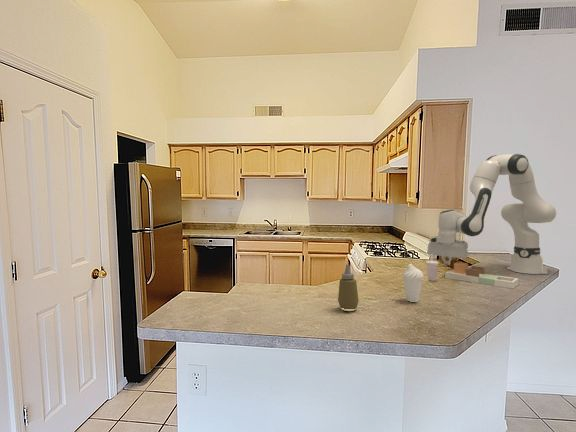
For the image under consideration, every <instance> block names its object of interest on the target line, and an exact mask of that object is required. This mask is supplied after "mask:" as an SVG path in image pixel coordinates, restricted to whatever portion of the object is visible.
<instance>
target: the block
mask: <svg viewBox="0 0 576 432" xmlns="http://www.w3.org/2000/svg"><path fill="white" fill-rule="evenodd" d="M466 268H468V262H460V261H456V262H454V263H453V270H454V273H460V274H465V273H466Z"/></svg>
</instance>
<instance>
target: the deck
mask: <svg viewBox="0 0 576 432" xmlns="http://www.w3.org/2000/svg"><path fill="white" fill-rule="evenodd" d="M470 267H471V268H466V273H465V274H460V273H454V268H453V269H449V270H448V271H446V272H444V278H445V279H449V280H455V281H461V282H467V283H469V282H470V283H475V284H480V283H481V285H488V286H492V287H493V286H494V287H500V288H506V289H515V288H516V287H518V286H519V281H520V280H519V278H518V277H510V276H503V275H495V274H489V273H485V272H486V271H485V267H483V266H475V265H471V266H470Z"/></svg>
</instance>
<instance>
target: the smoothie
mask: <svg viewBox="0 0 576 432" xmlns="http://www.w3.org/2000/svg"><path fill="white" fill-rule="evenodd" d="M433 256H434V255H433V254H431V260H426V261H425V264H426V270H427V271H426V272H427V279H428V281H431V282H437V276H438V272H439V271H438V270H439V264H440V261H436V260H433Z"/></svg>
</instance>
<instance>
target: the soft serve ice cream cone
mask: <svg viewBox="0 0 576 432" xmlns="http://www.w3.org/2000/svg"><path fill="white" fill-rule="evenodd" d="M401 277H402V279H403V280H402V281H403V285H404V286H403V289H404V292H405V295H406V296H405V297H406V301H407V302H408V301H410V302H409V303H411V302H417V303H419V299H420V296H421V295H420V294H421V290H422V288H421V287H422V282H423V280H422V279H423V278H424V273H423V272H422V271H421V270H420V269H419V268H418V267H417V268H416V267H415V266H414V265H413V264H412V263H409V264H408V265H407V266H406V269H405V270H404V271H403V272H402V274H401Z"/></svg>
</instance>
